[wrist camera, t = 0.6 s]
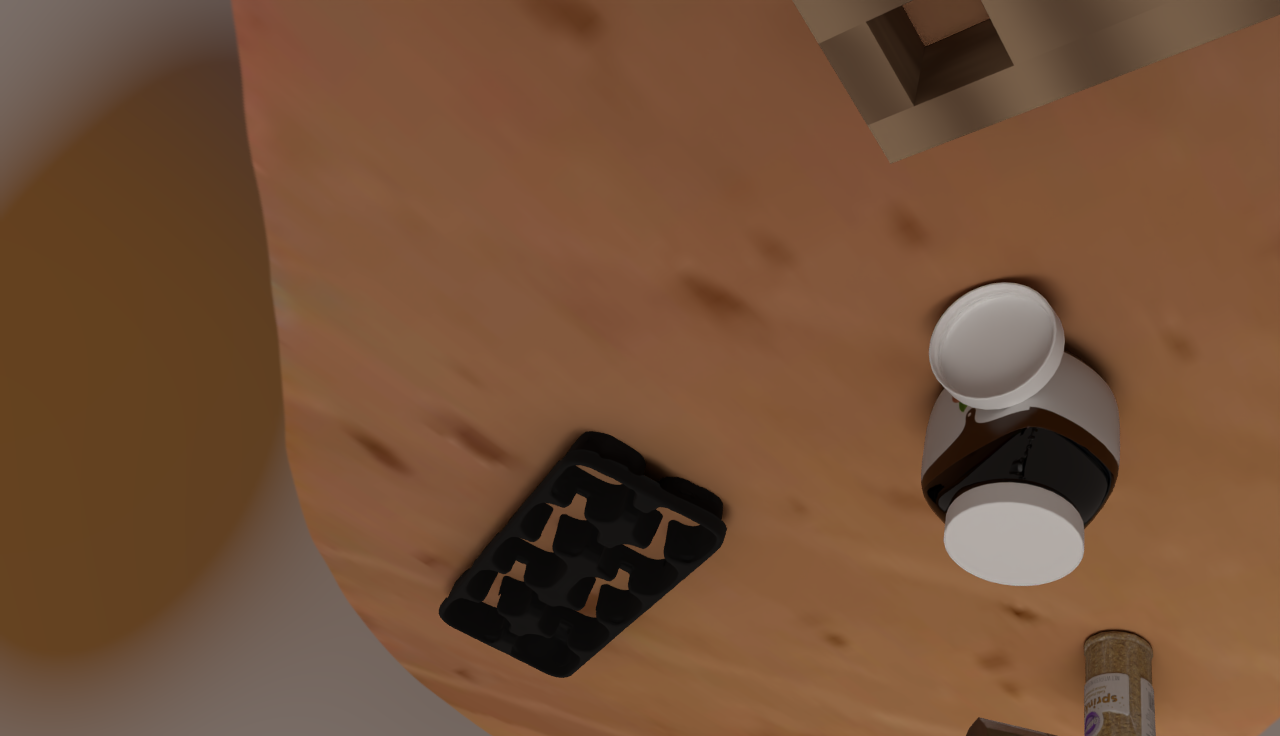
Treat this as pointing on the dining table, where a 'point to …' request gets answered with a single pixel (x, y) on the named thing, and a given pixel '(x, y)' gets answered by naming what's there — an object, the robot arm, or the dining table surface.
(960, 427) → the spread jar
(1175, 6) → the block
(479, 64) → the dining table surface
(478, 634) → the egg carton
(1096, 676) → the sprinkles bottle
